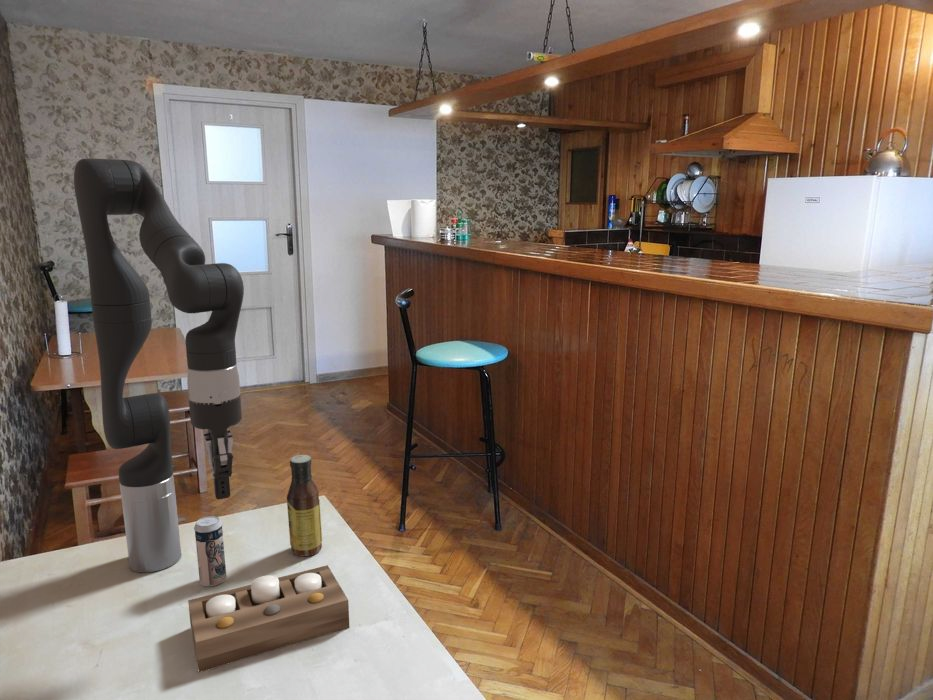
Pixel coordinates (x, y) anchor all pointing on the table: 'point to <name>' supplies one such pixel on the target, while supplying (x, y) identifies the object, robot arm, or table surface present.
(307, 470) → the sauce bottle
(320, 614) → the button board
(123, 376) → the robot arm
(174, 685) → the table surface
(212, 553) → the beer can
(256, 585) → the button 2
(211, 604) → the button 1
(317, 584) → the button
